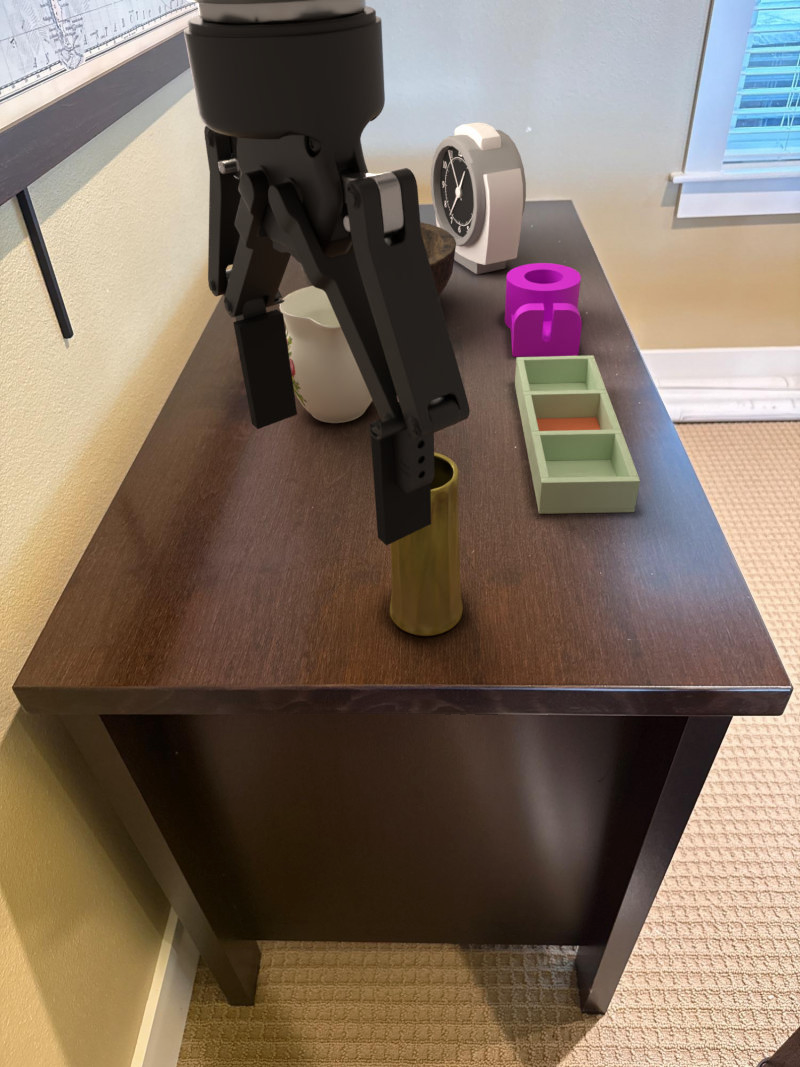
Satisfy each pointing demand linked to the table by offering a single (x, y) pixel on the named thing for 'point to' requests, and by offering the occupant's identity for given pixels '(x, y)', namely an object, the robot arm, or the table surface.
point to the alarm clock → (479, 195)
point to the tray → (573, 437)
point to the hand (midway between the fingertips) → (333, 470)
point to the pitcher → (322, 359)
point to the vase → (430, 562)
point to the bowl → (431, 254)
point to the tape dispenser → (543, 310)
